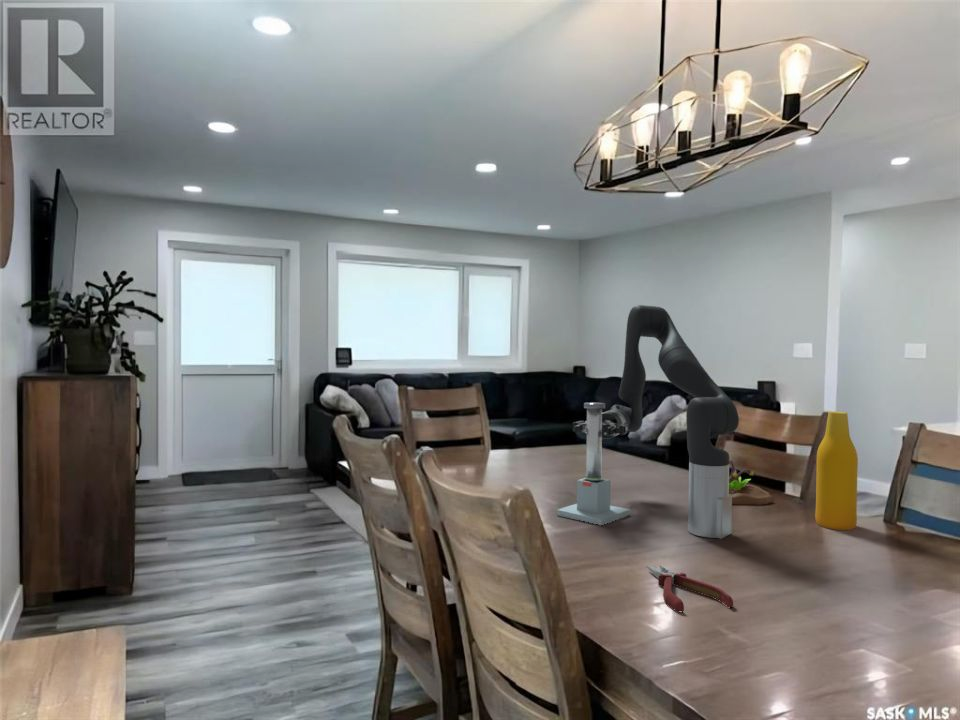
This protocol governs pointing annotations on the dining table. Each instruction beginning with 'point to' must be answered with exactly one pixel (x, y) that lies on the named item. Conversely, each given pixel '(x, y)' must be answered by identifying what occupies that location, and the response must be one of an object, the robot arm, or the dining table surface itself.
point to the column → (594, 441)
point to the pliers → (669, 578)
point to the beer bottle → (836, 476)
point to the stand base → (593, 504)
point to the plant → (746, 489)
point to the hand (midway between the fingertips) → (592, 430)
